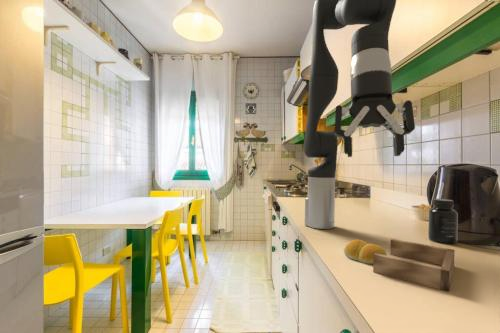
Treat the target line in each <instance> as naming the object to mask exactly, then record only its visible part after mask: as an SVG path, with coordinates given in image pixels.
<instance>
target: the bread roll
mask: <svg viewBox="0 0 500 333" xmlns="http://www.w3.org/2000/svg"><path fill="white" fill-rule="evenodd" d="M343 253H344V255H345V256H346V257H347V258H349V259H351V260H353V261H359V263H363V264H368V265H369V264H370V265H373V254H375V253H377V254H382V255H387V251H386V249H385V248H383V247H382V246H380V245H378V244H374V243H367V242H366V241H364V240H362V239H352V240H351V241H349V242H348V243H347V244H346V245H344V247H343ZM387 256H388V255H387Z"/></svg>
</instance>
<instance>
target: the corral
mask: <svg viewBox="0 0 500 333" xmlns="http://www.w3.org/2000/svg"><path fill="white" fill-rule="evenodd" d="M389 246H390V247H389V248H390V249H389V250H390V251H389V252H390V253H389V254H390V255H392V256H390V255H382V254H377V253H375V254H373V264H372V266H373V267H372V268H373V269H372V272H373V273H376V274H379V275H380V274H381V275H384V276H388V277H392V278H395V279H399V280H402V281H403V280H404V281H406V282H407V281H408V282H410V283H415V284H419V285H422V286H425V287H430V288H435V289H438V290H443V291H446V292H449V291H450V290H451V288H450V287H451V284H452V282H451V281H452V278H453V273H454V268H455V249H452V248H445V247H442V246H441V247H440V246H434V245H428V244H424V243H423V244H422V243H417V242H412V241H405V240H400V239H395V238H391V239H390V245H389ZM395 256H396V257H395ZM397 256H398V257H397ZM400 257H401V258H400ZM404 258H407V259H404ZM408 259H412V260H408ZM413 260H414V261H413ZM419 261H421V262H419ZM422 262H424V263H422ZM425 262H426V263H425ZM427 263H430V264H427ZM433 264H435V265H433Z"/></svg>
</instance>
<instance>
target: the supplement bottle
mask: <svg viewBox="0 0 500 333" xmlns="http://www.w3.org/2000/svg"><path fill="white" fill-rule="evenodd" d="M454 203H455V202H454V200H453V199H448V198H433V199H432V206H433V207H432V208H430V209H429V210H428V227H427V228H428V230H427V231H428V235H427V237H428V239H429V240H430V241H431V242H433V243H437V244H443V245H454V244H457V243H458V229H459V228H458V226H459V224H458V222H459V220H458V219H459V218H458V217H459V213H458V212H457V210H455V209H454V208H455V205H454Z"/></svg>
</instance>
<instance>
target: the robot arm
mask: <svg viewBox="0 0 500 333" xmlns="http://www.w3.org/2000/svg"><path fill="white" fill-rule="evenodd" d="M396 4H397V0H315V1H314V4H313V10H312V33H311V34H312V38H311V39H312V41H311V42H312V44H311V45H312V46H311V58H310V60H311V62H310V71H309V72H310V73H309V82H308V84H309V85H308V103H307V104H308V105H307V107H308V108H307V118H306V125H305V131H304V132H305V133H304V140H303V152H304V153H303V154H304V155H305V157H306V158H318V159H319V158H320V159H322V158H323V161H322V162H321V163H320V164H318V165H316V166H313V167H311V168H308V171H307V197H306V198H305V199H304V226H307V227H310V228H313V229H317V230H318V229H320V230H328V229H329V230H331V229H333V228H335V208H336V206H335V205H336V204H335V203H336V202H335V201H336V200H335V198H336V197H335V195H336V172H337V171H336V170H337V162H338V159H337V157H338V145H339V144H338V143H339V142H338V141H339V140H338V138H341V139H343V153H344V154H345V155H347V158H352V157H353V137H352V135H353V134H354V133H355V131H357V129H358V128H359V126H360V127H362V128H364V129H366V128H370V127H372V128H373V127H374V128H380V127H382V126H383V127H384V128H385V129H386V130H387V131H389V132H390V133H391V135H393V136H394V137H393V156H394V157H400V156H401V155H402V154H403V153H404V151H405V135H410V134H411V133H412V132H413V131H414V130H415V129H416V125H415V117H414V108H413V102H412V101H411V100H406V101H405V102H402V103H395V102H394V100H393V87H392V86H393V84H392V83H393V82H392V73H393V71H392V64H391V59H390V52H389V51H390V50H389V48H390V47H389V34H390V33H389V32H390V27H391V24H392V23H391V22H392V18H393V15H394V11H395V8H396ZM355 25H363V26H362V27H360V28H358V29H357V30H355V32H354V33H353V34H352V37H351V40H350V41H351V44H350V45H351V46H350V47H351V48H350V49H351V51H350V52H351V64H350V97H351V98H350V105H349V106H342V105H337V106H335V113H334V114H335V115H334V116H335V118H334V119H335V120H334V131H320V130H318V127H319V126H318V125H319V122H320V120H321V118H322V116H323V114H324V112H325V111H326V110H327V108H328V107H329V105H330V104H331V102H332V101H333V100H334V99H335V96H336V94H337V92H338V84H339V68H338V65H337V63H336V60H334V57H333V55H332V54H331V52H330V50H329V49H328V48H329V47H328V45H327V42H326V38H325V32H324V30H331V31H332V30H334V31H335V30H341V29H343V28H345V27H346V26H355ZM395 111H396V112H398V115H400V116H402V125H403V127H402V126H401V125H400V124H399V123H398V122H397V119H396V118H394V116H392V114H393V113H394V112H395ZM348 114H349V116H350V117H351V118H352V119H353V120H352V121H351V123H350V125H349V126H348V127H347V128H346V130H345V129H342V119H345V118H346V116H347V115H348Z"/></svg>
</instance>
